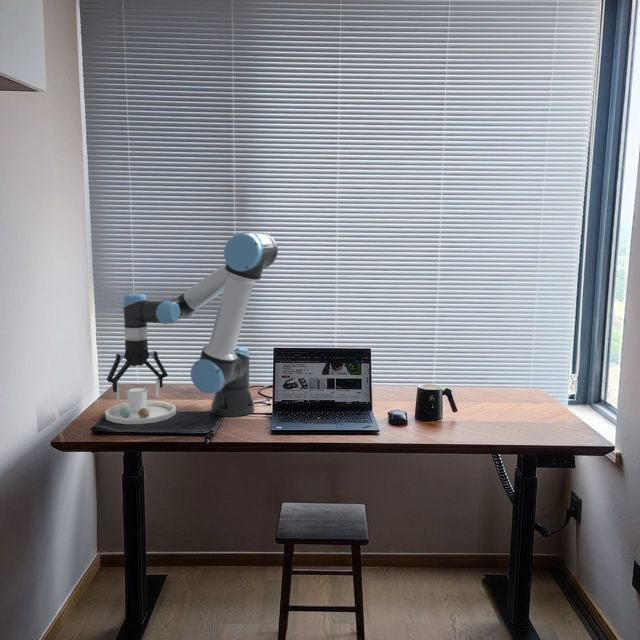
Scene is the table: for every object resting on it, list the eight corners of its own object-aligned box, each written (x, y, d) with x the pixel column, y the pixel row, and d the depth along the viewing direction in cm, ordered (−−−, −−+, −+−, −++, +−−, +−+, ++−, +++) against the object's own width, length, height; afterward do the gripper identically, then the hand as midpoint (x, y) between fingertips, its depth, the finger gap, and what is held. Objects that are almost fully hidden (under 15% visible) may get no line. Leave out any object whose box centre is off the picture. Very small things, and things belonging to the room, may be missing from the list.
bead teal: (130, 415, 215) (129, 405, 215) (131, 418, 212) (131, 407, 212) (119, 416, 214) (119, 406, 213) (120, 419, 211) (120, 408, 210)
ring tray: (168, 404, 232) (167, 398, 232) (182, 422, 212) (182, 414, 211) (101, 411, 223) (101, 404, 222) (110, 430, 202) (109, 422, 202)
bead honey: (148, 416, 214) (148, 406, 214) (150, 419, 211) (149, 409, 211) (137, 417, 213) (137, 407, 212) (139, 420, 210) (139, 410, 209)
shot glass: (149, 411, 221) (148, 391, 220) (128, 412, 218) (127, 393, 217) (146, 405, 227) (146, 386, 226) (126, 407, 224) (125, 388, 223)
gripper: (170, 335, 228) (172, 392, 230) (96, 339, 217) (99, 400, 220) (174, 338, 221) (176, 397, 224) (99, 343, 210) (102, 405, 213)
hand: (138, 399), depth 222 cm, fingers open, 13 cm apart
